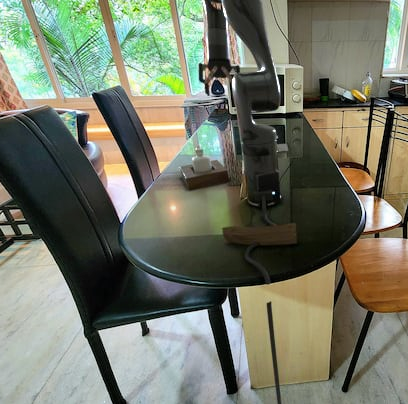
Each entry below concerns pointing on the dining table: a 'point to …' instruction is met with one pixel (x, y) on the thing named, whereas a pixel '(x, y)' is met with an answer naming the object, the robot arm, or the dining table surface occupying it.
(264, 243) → the wood plank
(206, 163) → the eye dropper bottle
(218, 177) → the stand
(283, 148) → the platform
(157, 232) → the dining table surface
